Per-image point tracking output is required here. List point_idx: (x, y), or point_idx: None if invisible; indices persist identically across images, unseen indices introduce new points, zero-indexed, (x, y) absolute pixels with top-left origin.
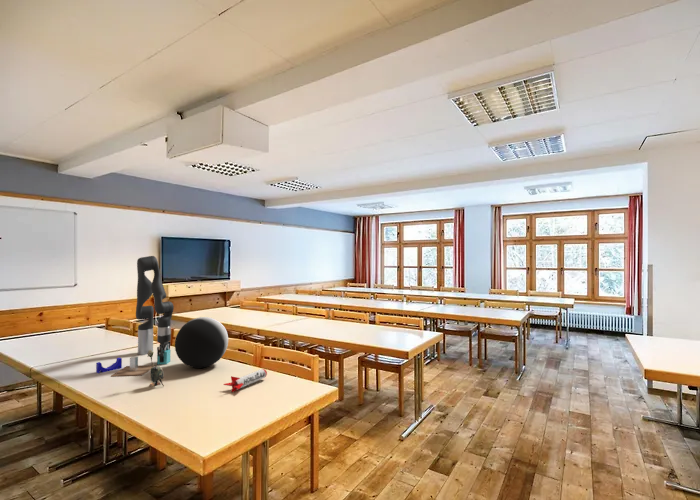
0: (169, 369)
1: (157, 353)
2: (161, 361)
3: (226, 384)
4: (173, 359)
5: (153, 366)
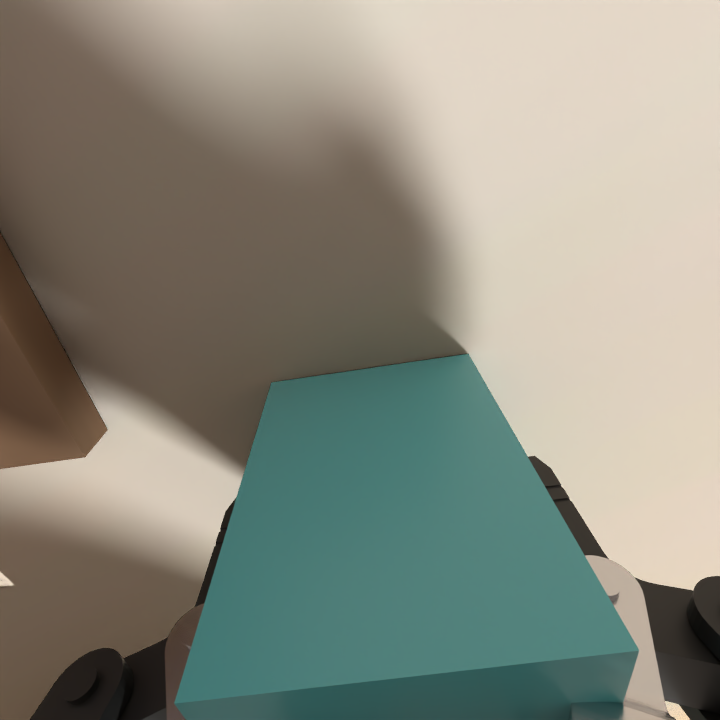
0: (107, 640)
1: (196, 641)
2: None
3: None
4: (590, 487)
5: (35, 459)
